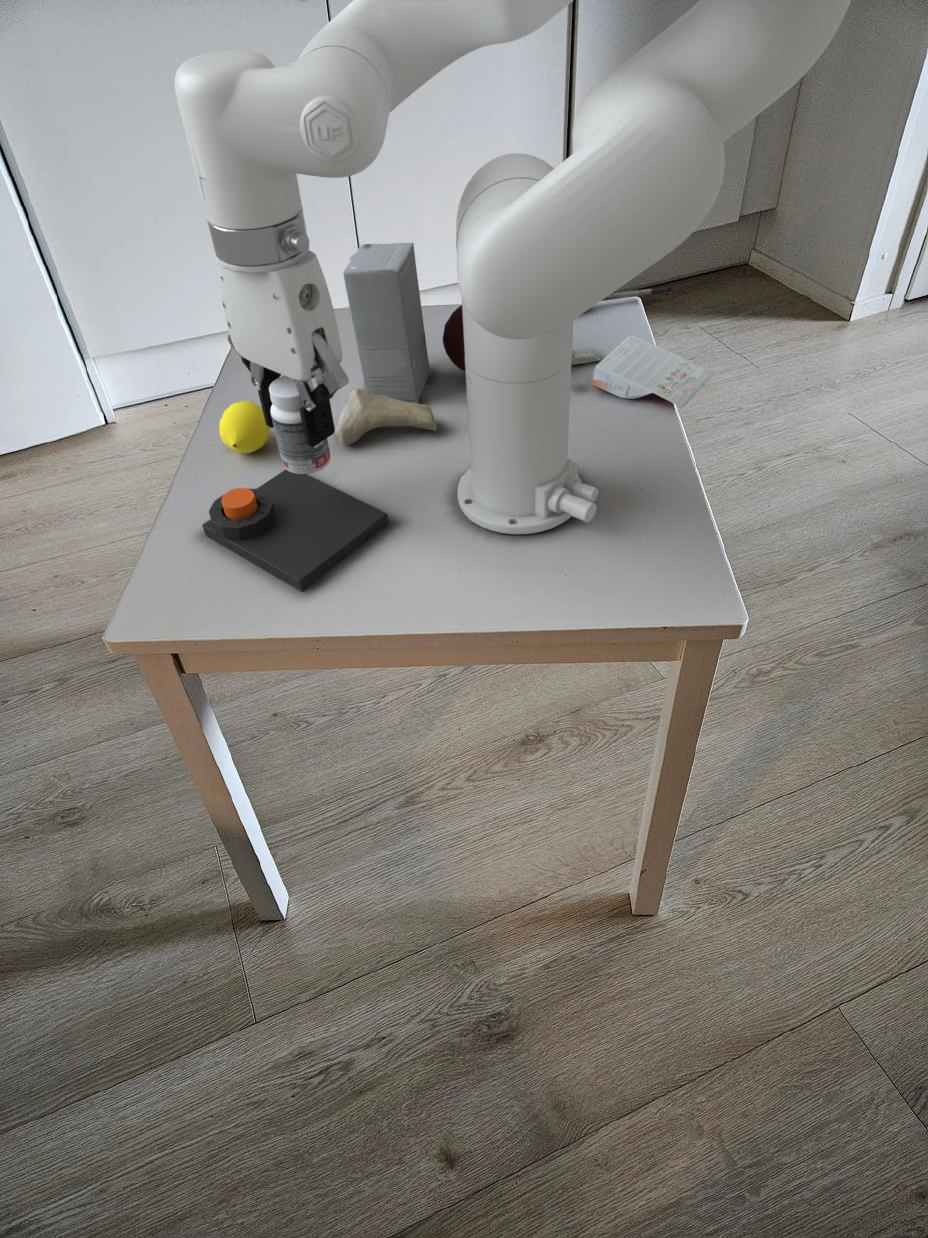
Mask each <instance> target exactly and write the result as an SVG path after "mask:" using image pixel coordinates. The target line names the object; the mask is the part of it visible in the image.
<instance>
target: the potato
mask: <svg viewBox="0 0 928 1238" xmlns="http://www.w3.org/2000/svg"><path fill="white" fill-rule="evenodd" d="M442 334H443V335H442V344H443V348H444V351H445V354H446V355H447V357H448V359H449V360H450V361H451V363H452V364H453V365H454V366H455V367H456V368H458V369H459V370H460V371H462V372H464V373H466V371H465V348H464V331H463V313H462V304H461V305H460V306H458V307H457V308H456V309H455V310H454V311H452V313H451V314H450V317H449V318H448V320H447V321H446V322H445V323H444V328H443V333H442Z"/></svg>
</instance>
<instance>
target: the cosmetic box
mask: <svg viewBox="0 0 928 1238" xmlns="http://www.w3.org/2000/svg"><path fill="white" fill-rule="evenodd" d="M416 262H417V261H416V252H415V243H414V242H396V243H395V242H394V243H393V242H392V243H361V245H360V246H359V248H358V249H357V251H355V253H354V254H351V256H350V257H349V263H348V264H347V266H346V267H345V269H343V272H342V275H343V280H344V285H345V291H346V296H347V301H348V306H349V312H350V316H351V322H352V327H353V332H354V337H355V343H356V349H357V354H358V358H359V363H360V364H359V365H360V369H361V373H362V379H363V384H364V390H367V391H369V392H372V393H375V394H378V395H381V396H386V397H390V398H393V399H397V400H401V401H404V402H409V403H416V404H419V401H420V397H421V395H422V393H423V391H424V388H425V385H426V383H427V381H428V377H429V373H430V362H429V353H428V346H427V340H426V339H427V338H426V332H425V331H426V330H425V324H424V317H423V309H422V301H421V294H420V293H421V292H420V286H419V279H418V271H417V263H416Z"/></svg>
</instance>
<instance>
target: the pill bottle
mask: <svg viewBox="0 0 928 1238" xmlns="http://www.w3.org/2000/svg"><path fill="white" fill-rule="evenodd" d="M282 376H283V377H282ZM282 376H280V378H278V379H276V380H274V381H273V382H272V383H271V384H270V386H269V392H270V398H271V401H272V403H273V404H272V406H271V417H272V421H273V425H274V427H273V429H274V434H275V437H276V442H277V446H278V450H279V451H278V452H279V456H280V459H281V463H282V466H283V468H284V470H288V471H289V472H292V473H295V474H307V475H311V474H315V473H318V472H319V471H322V470H324V469H325V468H326V467H327V466H328V464H329V463H330V461H331V450H330V444H329V441H328V438H326V439H325V440H323V441H322V442H320V443H319V444H317V445H316V446H314V447H311V446H309V445H307V443H306V439H305V434H304V429H303V425H302V420H301V415H300V409H301V408H302V407H303V403H302V401H301V398H300V395H299V393H298V390H297V387H296V385H295V382H294V380H293V379H292V378H290V377H287V376H285V375H282ZM307 382H308V384H309V387H310V389H311V392H312V391H313V390H314V389H315V388H314V383H313V380H312V379H311V380H309V381H307Z"/></svg>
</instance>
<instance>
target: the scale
mask: <svg viewBox="0 0 928 1238" xmlns="http://www.w3.org/2000/svg"><path fill="white" fill-rule="evenodd" d="M249 489H250V490H252V491H253V492H254V495H255V498H256V502H257V505H258V510H257V512H256V513H255V514H253V515H252V516H250V517H248V518H244V519H240V520H234V519H229V518H228V517H227V516H226V515H225V512H224V508H223V505H222V502H221V500H222V497H223V496H224V495H225V494H226V493H224V494H222V495H221V496H219V497H217V498H216V499H215V500H214V501H213V503H212V504H211V506H210V507H209V510H208V515H209V519H208V520H207V521H205V522H204V523H203V524H201V527H202V529H203V533H204V536H205V537H207V538H209V539H211V540H212V541H214V542H216V543H217V544H219V545H221V546H223V547H224V548H226V549H228V550H230V551H231V552H233V553H234V554H236V555H238V556H239V557H242V558H243V559H245V560H247V561H248V562H250V563H252V564H254V565H255V566H257V567H259V568H260V569H262V570H264V571H265V572H267V573H269V574H271V575H273V576H274V577H276V578H277V579H279V580H281V581H283V582H285V583H286V584H288V585H290V586H291V587H293V588H295V589H297V590H298V591H300V592H304V591H305V590H306V589H308V588H309V587H310V586H312V584H314V583H316V581H318V580H319V579H320V578H322V577H323V576H324V575H325V574H326V573H328V572H330V571H331V570H332V569H333V568H334V567H336V566H337V565H339V564H340V563H341V562H342V561H344V560H345V559H346V558H347V557H349V556H350V555H351V554H353V553H354V552H355V551H357V550H358V549H359V548H360V547H362V546H363V545H364V544H365V543H367V542H368V541H369V540H371V539H372V538H373V537H374V536H376V535H377V534H378V533H380V532H381V531H382V530H384V529H385V528H386V527H388V526H389V525H390V523H389V515H388V513H387V512H386V511H383V510H381V509H380V508H377V507H376V506H373V505H371V504H369V503H367V502H365V501H363V500H361V499H359V498H356V497H354V496H353V495H350V494H348V493H346V492H345V491H342V490H340V489H338V488H336V487H334V486H332V485H330V484H327V483H326V482H324V481H322V480H319V479H317V478H316V477H313V476H312V475H310V474H295V473H292V472H289V471H288V470H286V469H284V470H282V471H281V472H279V473H278V474H277V475H275V476H273V477H272V478H270V479H269V480H268V481H266V482H265V483H263V484H262V485H260V486H258V487H257V488H249Z"/></svg>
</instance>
